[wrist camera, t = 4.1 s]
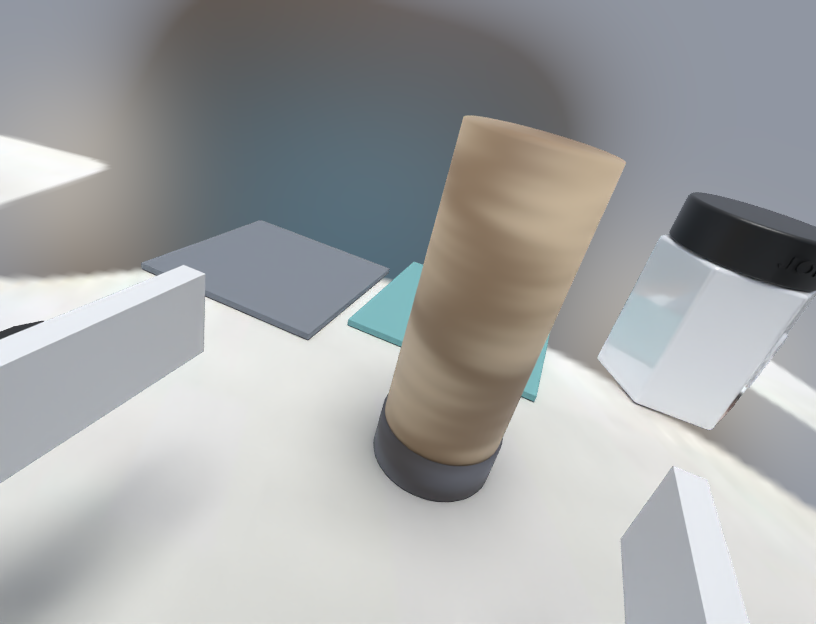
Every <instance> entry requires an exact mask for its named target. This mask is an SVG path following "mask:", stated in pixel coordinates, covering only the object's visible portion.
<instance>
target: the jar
mask: <svg viewBox="0 0 816 624" xmlns="http://www.w3.org/2000/svg"><path fill="white" fill-rule="evenodd" d="M815 296H816V227H815V226H812V225H809V224H807V223H804V222H802V221H799V220H796V219H793V218H790V217H788V216H785V215H782V214H779V213H776V212H773V211H770V210H767V209H764V208H760V207H758V206H754V205H751V204H748V203H744V202H740V201H737V200H733V199H729V198H725V197H721V196H717V195H712V194H707V193H699V192H696V193H691V194H690V195H689V196H688V198H687V199H686V201H685V203H684V205H683V207H682V209H681V211H680V213H679V215H678V216H677V218H676V220H675V222H674V224H673V226H672V228H671V230H670V234H668V235H663V236H661V237H660V238H659V240H658V242H657V244H656V246H655V248H654V250H653V252H652V253H651V255H650V257H649V259H648V261H647V263H646V265H645V267H644V269H643V271H642V273H641V275H640V276H639V278H638V280H637V282H636V284H635V286H634V288H633V290H632V292H631V294H630V296H629V298H628V299H627V301H626V303H625V305H624V308H623V309H622V311H621V313H620V315H619V317H618V319H617V321H616V322H615V324H614V326H613V328H612V331H611V332H610V334H609V336H608V338H607V340H606V342H605V344H604V345H603V347H602V350H601V351H600V353H599V355H598V360H599V361H600V362H601V363H602V365H603V366H604V367H605V368H606V369H607V371H608V372H609V373H610V374H611V375H612V376H613V378H614V379H615V380H616V381H617V382H618V383H619V385H620V386H621V387H622V388H623V389H624V390H625V391H626V393H627V394H628V395H629V396H630V397H631V398H632V400H633V401H634V402H636V403H637V404H640V405H643V406H645V407H648V408H651V409H653V410H656V411H659V412H661V413H664V414H667V415H669V416H672V417H675V418H677V419H680V420H682V421H685V422H688V423H690V424H693V425H696V426H698V427H701V428H704V429H706V430H712V429H713V428H714V427H715V426H716V425H717V424H718V423H719V422H720V421H721V419H722V418H723V417H724V416H725V415H726V414H727V413H728V412H729V411H730V410H731V409H732V408H733V406H734V405H735V403H736V402H737V401H738V400H739V398H740V397H741V396H742V394H743V393H744V392H745V390H746V389H747V388H748V387H750V386H751V385H752V383H753V382H754V381H755V380H756V378H757V377H758V376H759V375H760V373H761V372H762V370H763V369H764V368H765V367H766V365H767V364H768V363H769V362H770V360H771V359H772V358H773V356H774V355H775V354H776V353H777V351H778V350H779V349H780V347H781V346H782V344H783V343H784V342H785V340H786V339H787V337H788V335H787V334H788V332H789V331H790V329H791V328H792V327H793V325H794V324H795V323H796V322H797V320H798V319H799V317H800V316H801V315H802V313H803V312H804V311H805V309H806V308H807V307H808V305H809V304H810V303H811V301H812V300H813V299H814V297H815Z"/></svg>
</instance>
